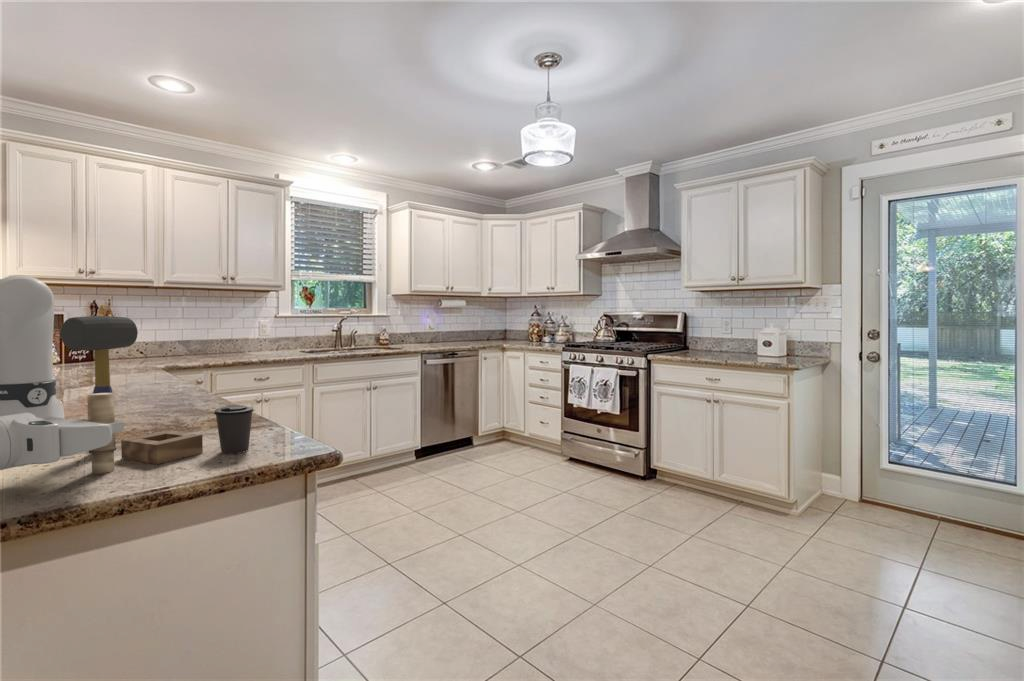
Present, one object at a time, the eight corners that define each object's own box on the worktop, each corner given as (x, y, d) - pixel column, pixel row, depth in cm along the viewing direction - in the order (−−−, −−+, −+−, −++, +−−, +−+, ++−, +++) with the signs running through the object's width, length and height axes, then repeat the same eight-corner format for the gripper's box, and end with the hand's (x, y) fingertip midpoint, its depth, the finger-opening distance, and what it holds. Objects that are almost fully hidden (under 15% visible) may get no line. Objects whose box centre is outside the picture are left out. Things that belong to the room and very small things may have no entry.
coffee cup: (212, 457, 111) (211, 410, 110) (215, 448, 118) (214, 404, 118) (254, 453, 114) (254, 408, 114) (255, 444, 122) (254, 402, 121)
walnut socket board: (121, 458, 109) (121, 440, 109) (168, 447, 118) (168, 430, 118) (157, 464, 105) (156, 445, 105) (202, 452, 114) (202, 434, 114)
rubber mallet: (89, 461, 107) (84, 315, 106) (61, 458, 109) (55, 315, 108) (144, 446, 119) (140, 315, 118) (118, 444, 121) (114, 315, 120)
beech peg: (84, 473, 99) (81, 395, 99) (108, 467, 103) (105, 392, 102) (98, 475, 98) (95, 396, 97) (121, 469, 102) (119, 393, 101)
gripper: (-16, 452, 92) (74, 435, 105) (54, 464, 84) (142, 445, 97) (-18, 416, 92) (73, 404, 104) (52, 426, 84) (141, 411, 97)
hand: (106, 424), depth 101 cm, fingers open, 7 cm apart
